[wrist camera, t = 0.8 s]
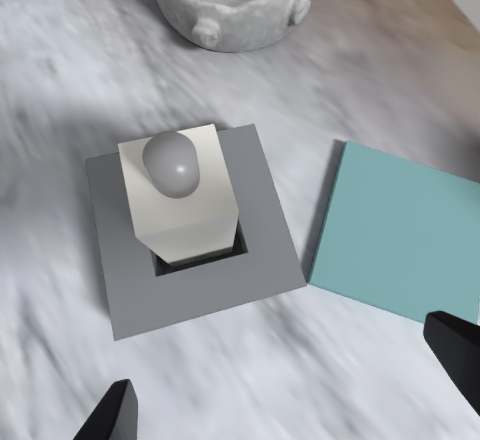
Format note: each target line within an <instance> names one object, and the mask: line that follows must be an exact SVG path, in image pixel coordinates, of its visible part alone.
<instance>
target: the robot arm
mask: <svg viewBox="0 0 480 440" xmlns="http://www.w3.org/2000/svg"><path fill="white" fill-rule="evenodd" d="M423 335H424V338H425V340H426V342H427V344H428V345H429V347H430V348H431V350H432V351H433V353H434V354H435V356H436V357H437V359H438V360H439V362H440V363H441V365H442V366H443V368H444V369H445V371H446V372H447V374H448V375H449V377H450V378H451V380H452V381H453V383H454V384H455V385H456V387H457V388H458V390H459V391H460V392H461V394H462V395H463V396H464V397H465V399H466V400H467V401H468V402H469V404H470V405H471V406H472V407H473V409H474V410H475V411H476V412H477V414H478V415H479V416H480V326H478V325H476V324H474V323H471V322H469V321H466V320H464V319H462V318H459V317H457V316H454V315H452V314H449V313H447V312H445V311H442V310H437V311H432V312H429V313H427V314H426V317H425V324H424V330H423ZM137 421H138V400H137V396H136V394H135V391H134V388H133V386H132V383H131V381H130V380H129V379H124V380H120V381H116V382H114V383H113V384H112V385H111V387H110V388H109V389H108V391H107V392H106V394H105V395H104V396H103V398H102V399H101V401H100V402H99V403H98V405H97V406H96V408H95V409H94V410H93V412H92V413H91V415H90V416H89V418H88V419H87V420H86V422H85V423H84V425H83V426H82V427H81V429H80V430H79V432H78V433H77V434H76V436H75V437H74V439H73V440H137Z"/></svg>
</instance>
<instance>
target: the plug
mask: <svg viewBox="0 0 480 440" xmlns="http://www.w3.org/2000/svg"><path fill="white" fill-rule="evenodd" d="M118 148H119V154H120V159H121V164H122V169H123V174H124V180H125V185H126V190H127V195H128V201H129V206H130V211H131V216H132V221H133V227H134V232H135V237H136V238H137V239H138V240H140V241H141V242H142V243H143V244H145V245H146V246H147V247H148V248H150V249H151V250H152V251H153V252H155V253H156V254H157V255H158V256H160V257H161V258H162V259H163V260H165V261H166V262H167V263H168V264H170V265H171V266H172V267H176V266H180V265H184V264H188V263H191V262H195V261H199V260H203V259H207V258H210V257H214V256H218V255H222V254H226V253H229V252H232V248H233V242H234V237H235V231H236V226H237V221H238V215H239V210H238V206H237V203H236V199H235V196H234V192H233V189H232V185H231V182H230V178H229V175H228V171H227V168H226V164H225V161H224V157H223V154H222V150H221V147H220V143H219V140H218V136H217V133H216V129H215V126H214V124H210V125H206V126H201V127H196V128H191V129H186V130H181V131H177V132H163V133H160V134H157V135H155V136H152V137H148V138H143V139H138V140H133V141H128V142H124V143H119V144H118Z"/></svg>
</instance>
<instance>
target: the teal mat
mask: <svg viewBox="0 0 480 440" xmlns="http://www.w3.org/2000/svg"><path fill="white" fill-rule="evenodd" d="M307 284H310V285H313V286H316V287H319V288H322V289H325V290H328V291H331V292H333V293H336V294H339V295H342V296H345V297H348V298H351V299H354V300H357V301H360V302H363V303H365V304H368V305H371V306H374V307H377V308H380V309H383V310H386V311H389V312H392V313H395V314H397V315H400V316H403V317H406V318H409V319H412V320H415V321H418V322H421V323H424V324H425V317H426V314H427V313H429V312H432V311H437V310H442V311H445V312H447V313H449V314H452V315H454V316H457V317H459V318H462V319H464V320H466V321H469V322H471V323H474V324H476V325H477V320H478V310H479V301H480V183H477V182H473V181H470V180H467V179H464V178H461V177H458V176H455V175H452V174H449V173H446V172H443V171H440V170H437V169H434V168H430V167H427V166H424V165H421V164H418V163H415V162H412V161H409V160H406V159H403V158H400V157H397V156H394V155H391V154H387V153H384V152H381V151H378V150H375V149H372V148H369V147H366V146H363V145H360V144H357V143H354V142H351V141H348V140H347V142H346V143H345V144H344V146H343V150H342V154H341V157H340V161H339V165H338V169H337V172H336V176H335V180H334V184H333V187H332V191H331V195H330V199H329V203H328V206H327V210H326V214H325V218H324V221H323V225H322V229H321V233H320V236H319V240H318V244H317V248H316V251H315V255H314V259H313V263H312V266H311V270H310V274H309V278H308V281H307Z"/></svg>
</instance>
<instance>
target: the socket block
mask: <svg viewBox="0 0 480 440" xmlns="http://www.w3.org/2000/svg"><path fill="white" fill-rule="evenodd" d="M216 133H217V136H218V140H219V143H220V147H221V150H222V154H223V157H224V161H225V164H226V168H227V171H228V175H229V178H230V182H231V185H232V189H233V192H234V196H235V199H236V203H237V206H238V210H239V215H238V221H237V226H236V229H237V232H238V236H239V239H240V243H241V247H242V250H243V254H241V255H237V256H233V257H230V258H226V259H222V260H218V261H215V262H211V263H207V264H203V265H199V266H196V267H192V268H188V269H184V270H181V271H177V272H173V273H169V274H166V275H163V273H162V268H161V263H160V258H159V256H158V255H157V254H156V253H155V252H153V251H152V250H151V249H150V248H148V247H147V246H146V245H145V244H143V243H142V242H141V241H140V240H138V239H137V238H136V237H135V232H134V227H133V221H132V216H131V211H130V206H129V201H128V195H127V190H126V185H125V180H124V174H123V169H122V164H121V159H120V154H119V152H118V153H113V154H108V155H103V156H99V157H94V158H89V159H85V160H86V167H87V173H88V179H89V186H90V192H91V198H92V204H93V211H94V217H95V223H96V230H97V236H98V242H99V248H100V255H101V261H102V267H103V274H104V280H105V286H106V292H107V299H108V305H109V311H110V318H111V324H112V330H113V337H114V341H117V340H120V339H124V338H127V337H131V336H134V335H138V334H141V333H145V332H148V331H152V330H155V329H159V328H162V327H166V326H169V325H173V324H176V323H180V322H183V321H187V320H190V319H194V318H197V317H201V316H204V315H207V314H211V313H214V312H218V311H221V310H225V309H228V308H232V307H235V306H239V305H242V304H246V303H249V302H253V301H256V300H260V299H263V298H267V297H270V296H274V295H277V294H281V293H284V292H288V291H291V290H295V289H298V288H301V287H305V286H307V284H306V281H305V278H304V275H303V272H302V269H301V266H300V263H299V260H298V257H297V253H296V250H295V247H294V244H293V241H292V238H291V235H290V232H289V229H288V226H287V223H286V220H285V217H284V213H283V210H282V207H281V204H280V201H279V198H278V195H277V192H276V189H275V186H274V183H273V180H272V177H271V174H270V170H269V167H268V164H267V161H266V158H265V155H264V152H263V149H262V146H261V143H260V140H259V137H258V134H257V131H256V127H255V124H251V125H246V126H241V127H236V128H232V129H227V130H222V131H217V132H216Z"/></svg>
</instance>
